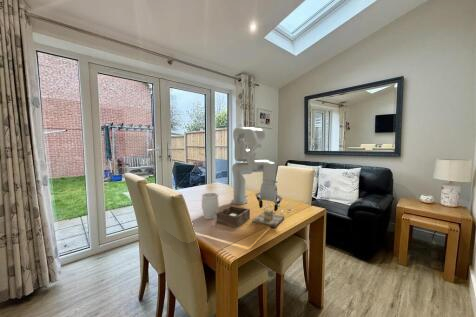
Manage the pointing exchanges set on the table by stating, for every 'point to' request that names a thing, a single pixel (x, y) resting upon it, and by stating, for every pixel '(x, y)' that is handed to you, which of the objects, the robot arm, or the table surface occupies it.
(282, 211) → the game piece set
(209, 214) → the jar
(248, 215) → the box
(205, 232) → the table surface
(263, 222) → the lid
